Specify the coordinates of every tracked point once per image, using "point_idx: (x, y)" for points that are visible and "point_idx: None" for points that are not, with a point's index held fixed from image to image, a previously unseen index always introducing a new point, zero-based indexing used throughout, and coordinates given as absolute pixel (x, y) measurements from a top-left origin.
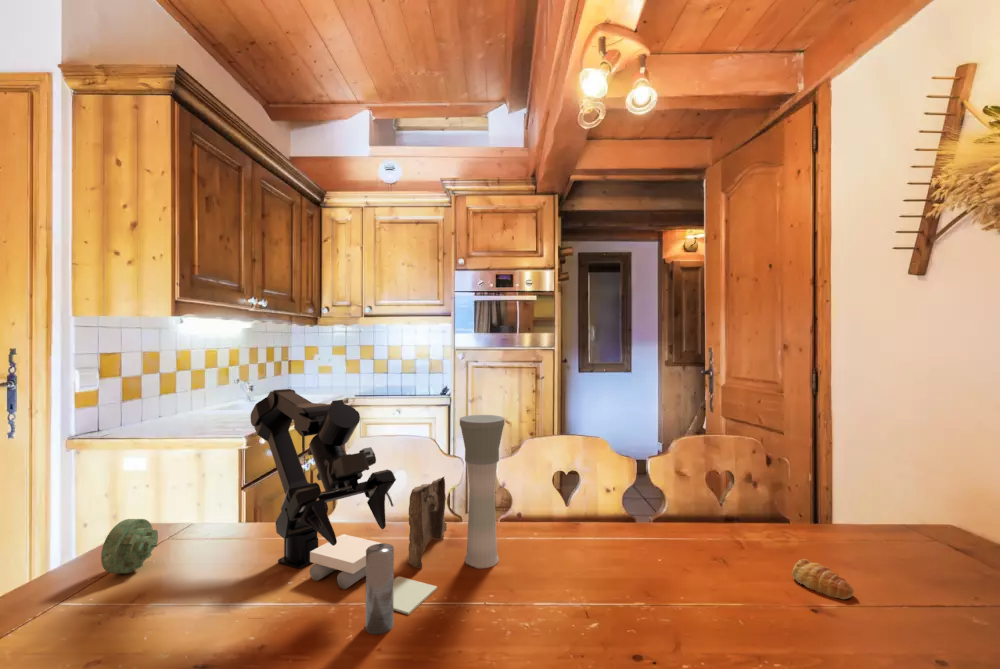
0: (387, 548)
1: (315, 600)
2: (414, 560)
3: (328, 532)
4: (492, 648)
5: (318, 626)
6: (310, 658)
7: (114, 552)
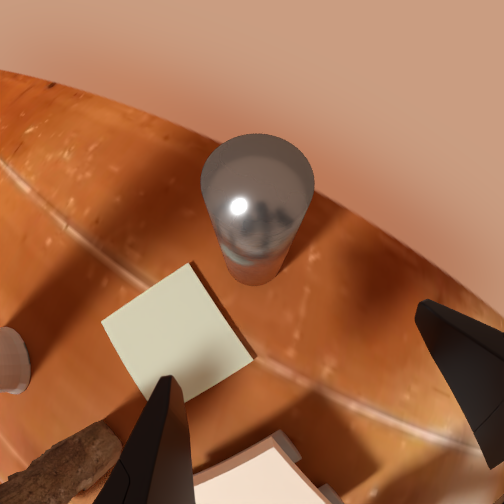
0: (227, 171)
1: (350, 416)
2: (108, 434)
3: (469, 319)
4: (129, 127)
5: (361, 319)
6: (378, 232)
7: None
